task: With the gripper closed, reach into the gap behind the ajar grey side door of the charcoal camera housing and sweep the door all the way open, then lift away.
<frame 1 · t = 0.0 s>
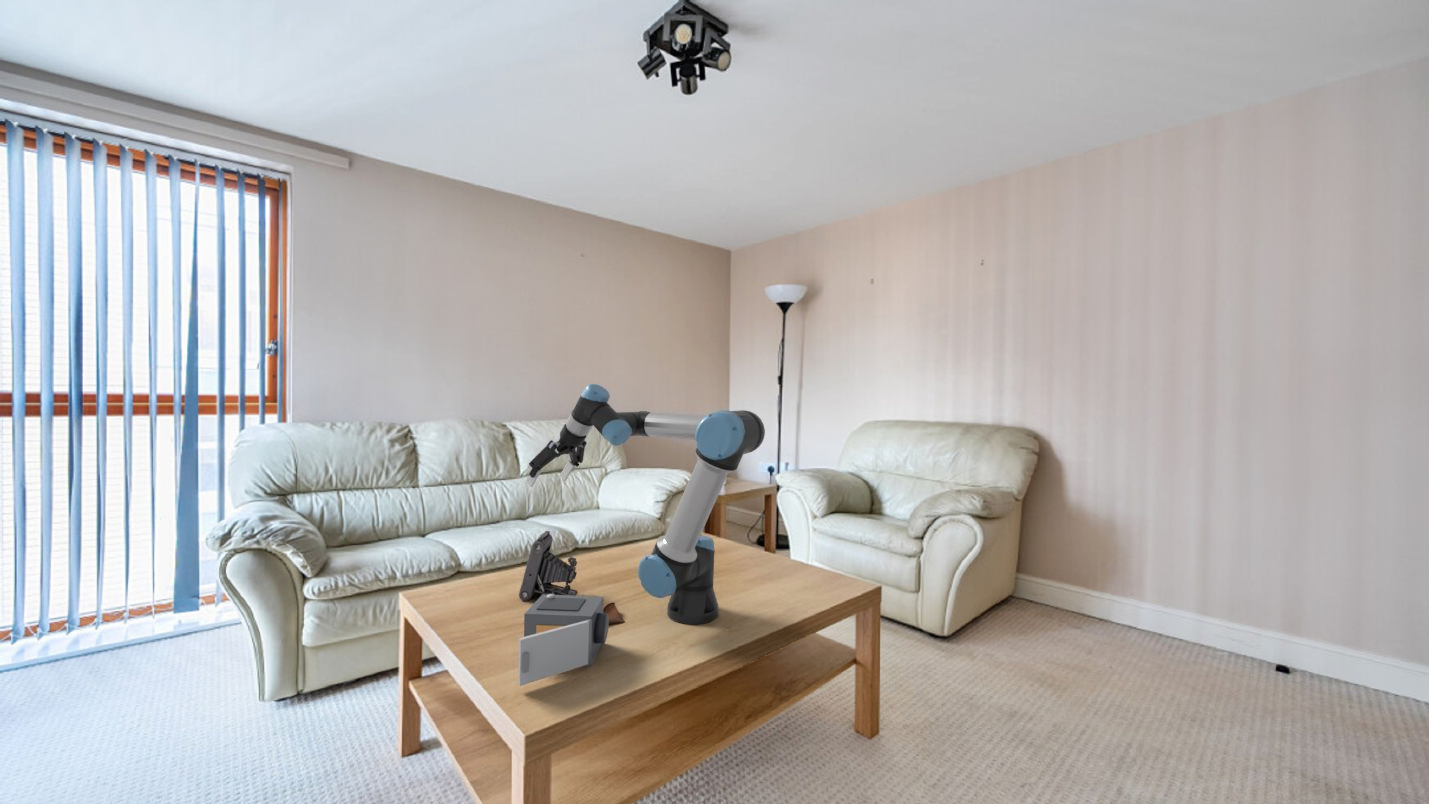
hand: (546, 481, 168), 36 cm above the table, tool tilted 35°, fingers open, 13 cm apart
door: (557, 651, 119), point 7 cm above the table, hinge at 40.0°
camera housing: (564, 652, 131), on the table
camera: (550, 595, 168), on the table
sunglasses case: (591, 625, 148), on the table
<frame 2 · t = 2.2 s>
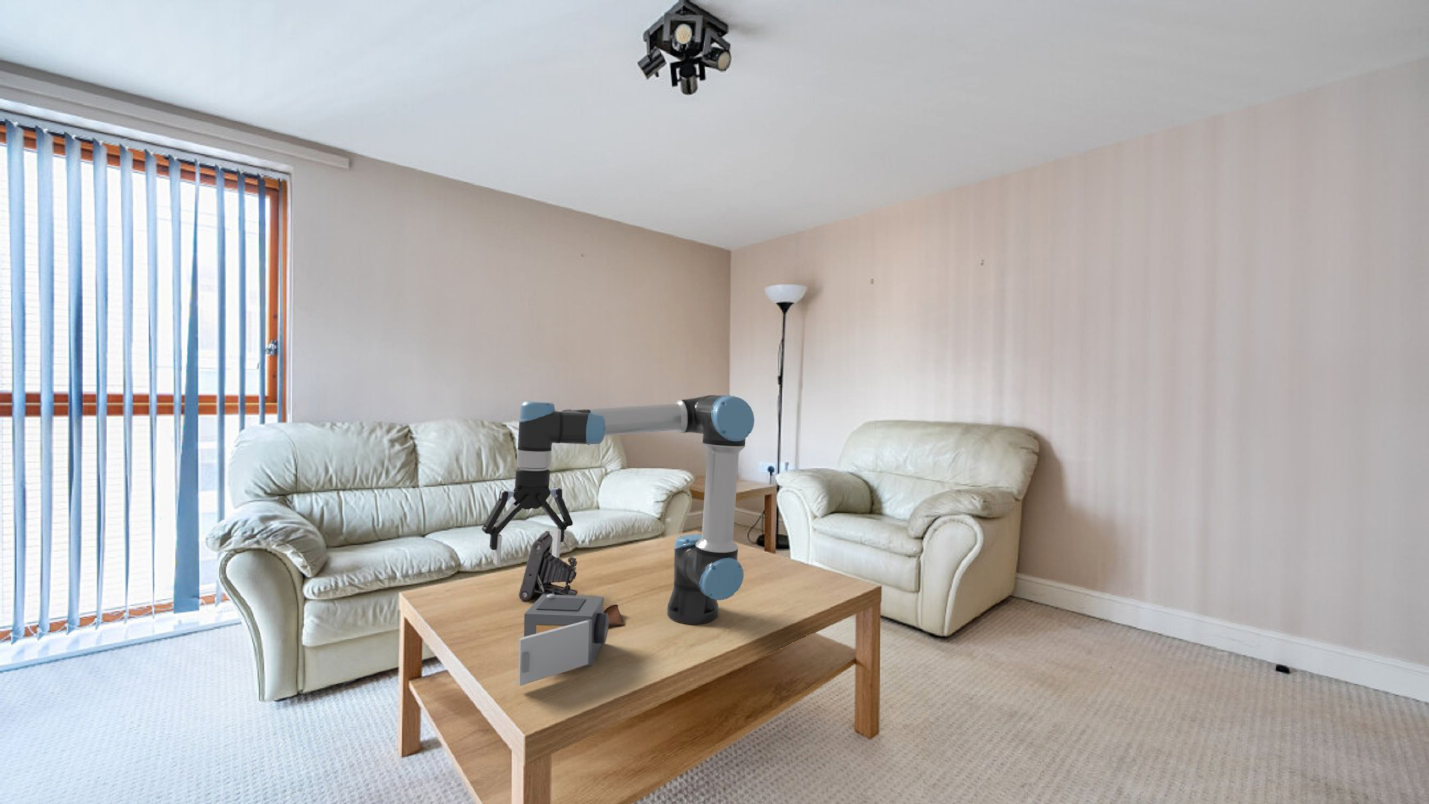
hand: (527, 559, 123), 26 cm above the table, tool pointing down, fingers open, 13 cm apart
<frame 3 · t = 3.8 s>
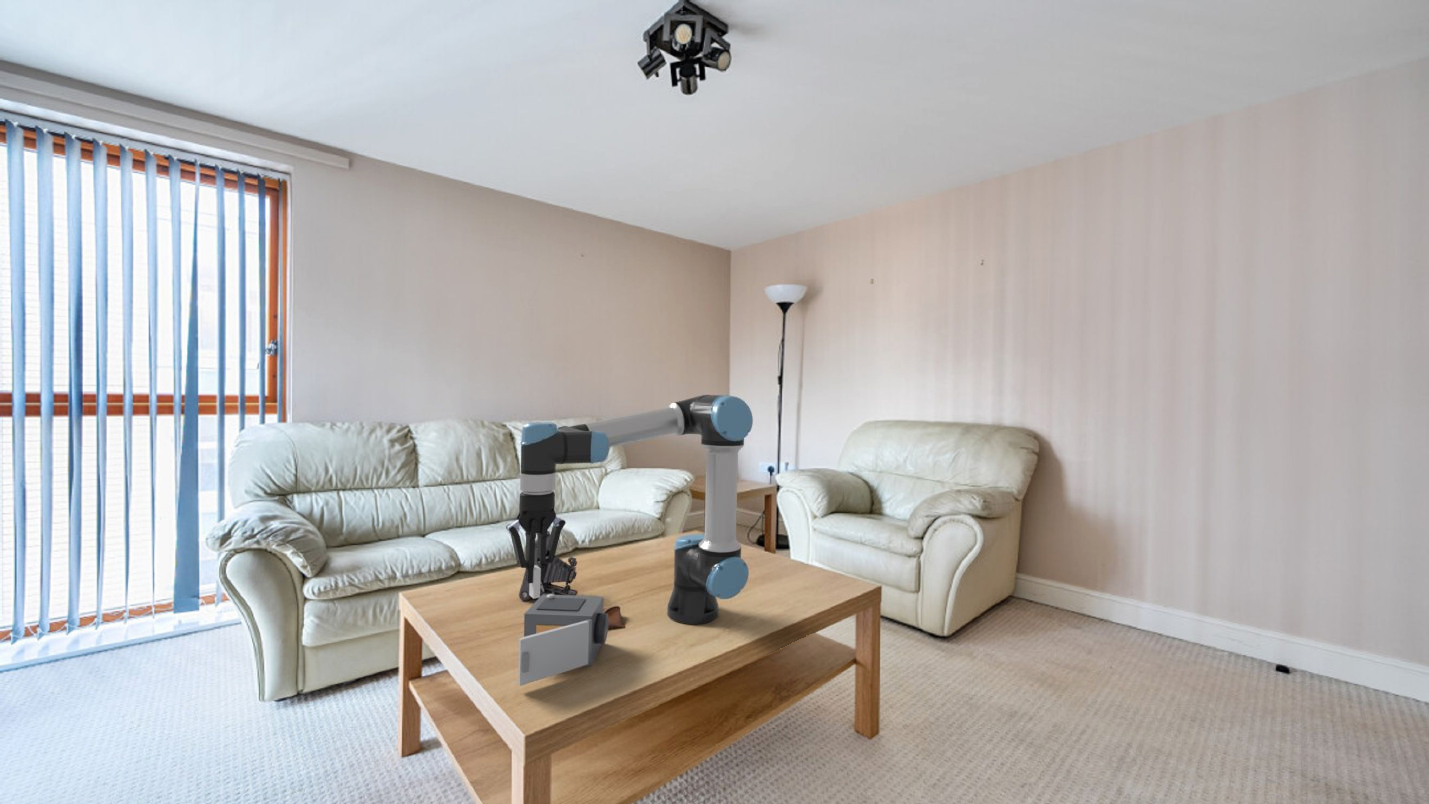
hand: (534, 595, 119), 19 cm above the table, tool pointing down, fingers closed
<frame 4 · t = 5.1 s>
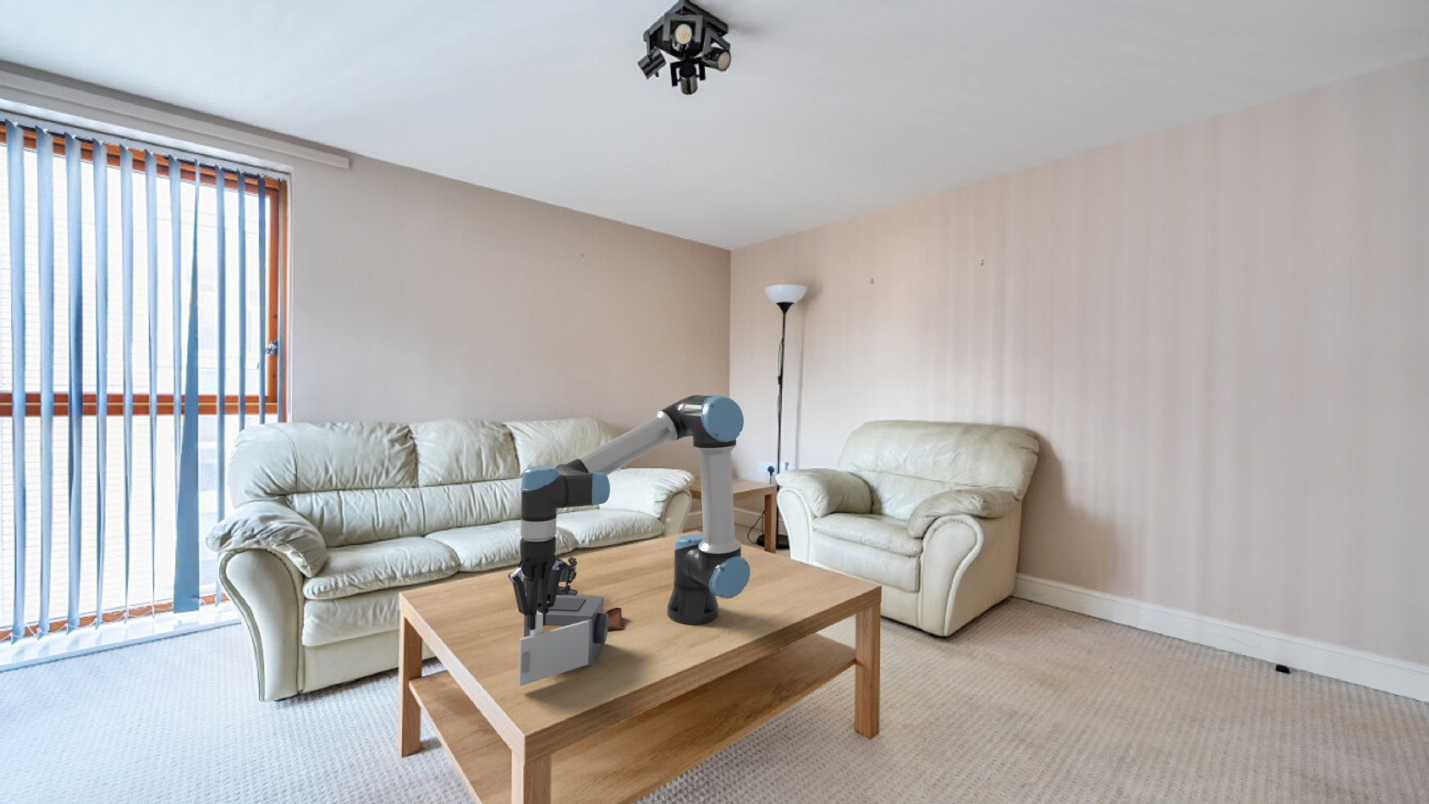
hand: (536, 641, 118), 9 cm above the table, tool pointing down, fingers closed
door: (557, 651, 119), point 7 cm above the table, hinge at 40.6°, touching gripper
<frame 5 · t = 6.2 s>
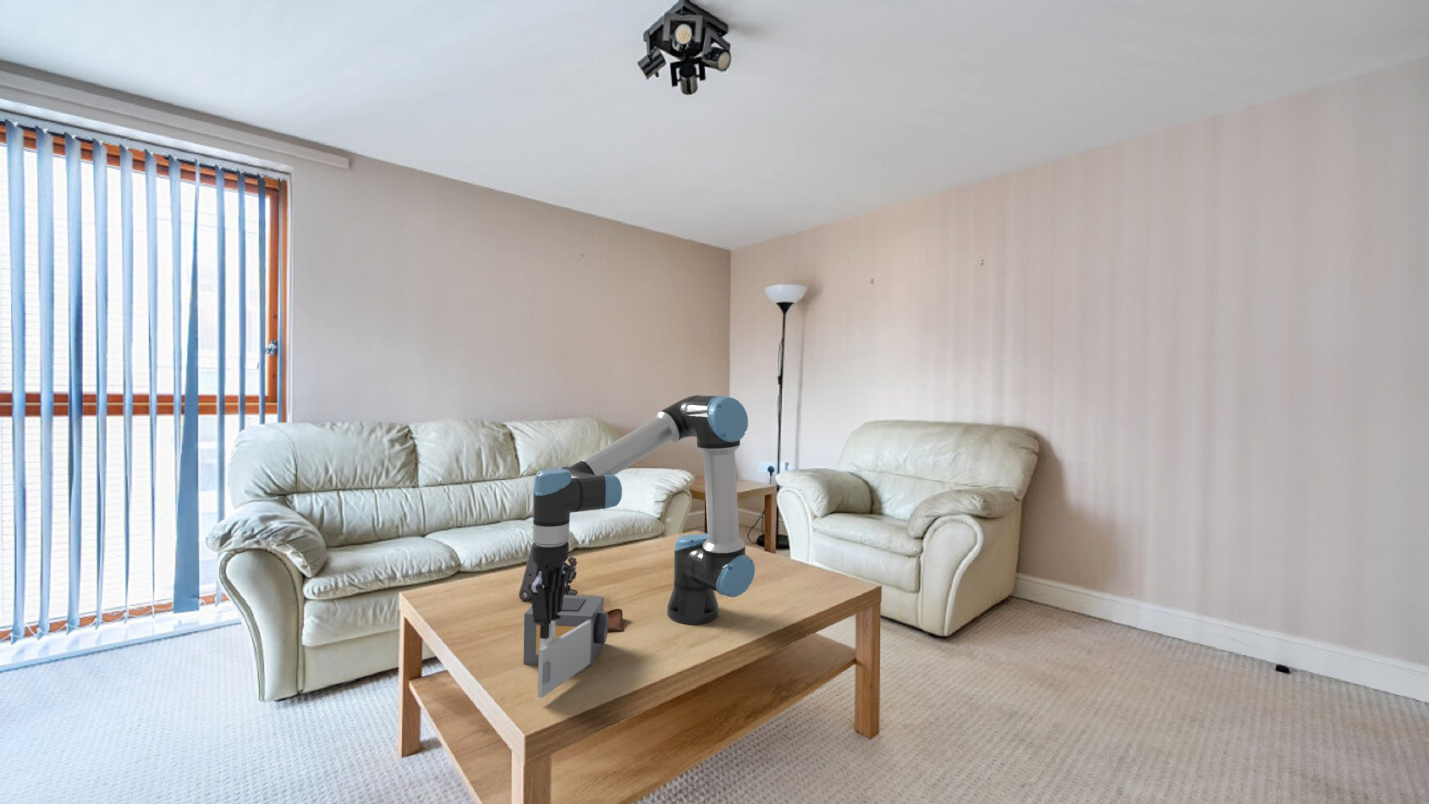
hand: (547, 650, 114), 9 cm above the table, tool pointing down, fingers closed
door: (568, 656, 117), point 7 cm above the table, hinge at 66.6°, touching gripper
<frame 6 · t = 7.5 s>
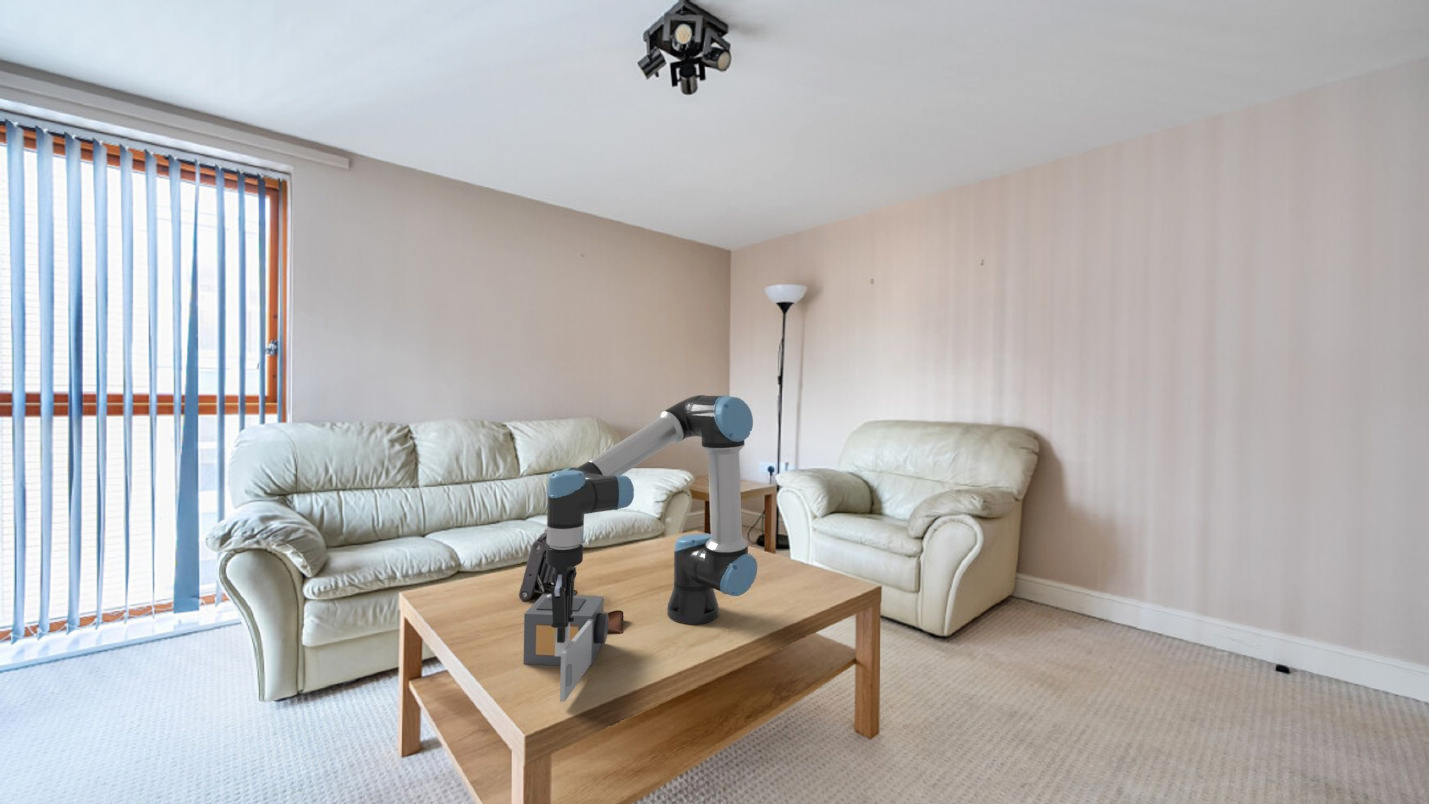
hand: (561, 654, 113), 9 cm above the table, tool pointing down, fingers closed
door: (579, 657, 116), point 7 cm above the table, hinge at 85.2°, touching gripper
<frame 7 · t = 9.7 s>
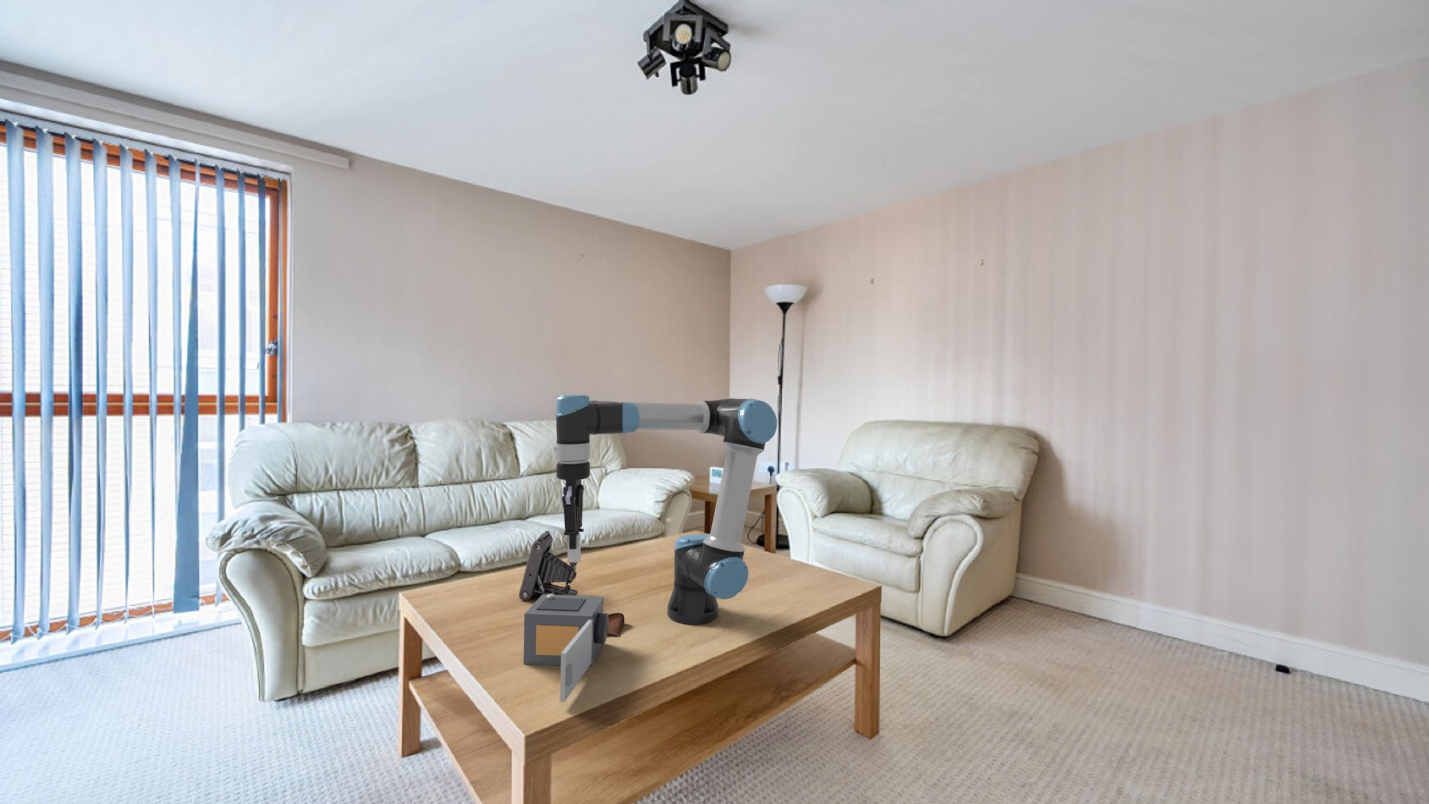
hand: (574, 561, 124), 25 cm above the table, tool pointing down, fingers closed
door: (579, 657, 116), point 6 cm above the table, hinge at 85.2°
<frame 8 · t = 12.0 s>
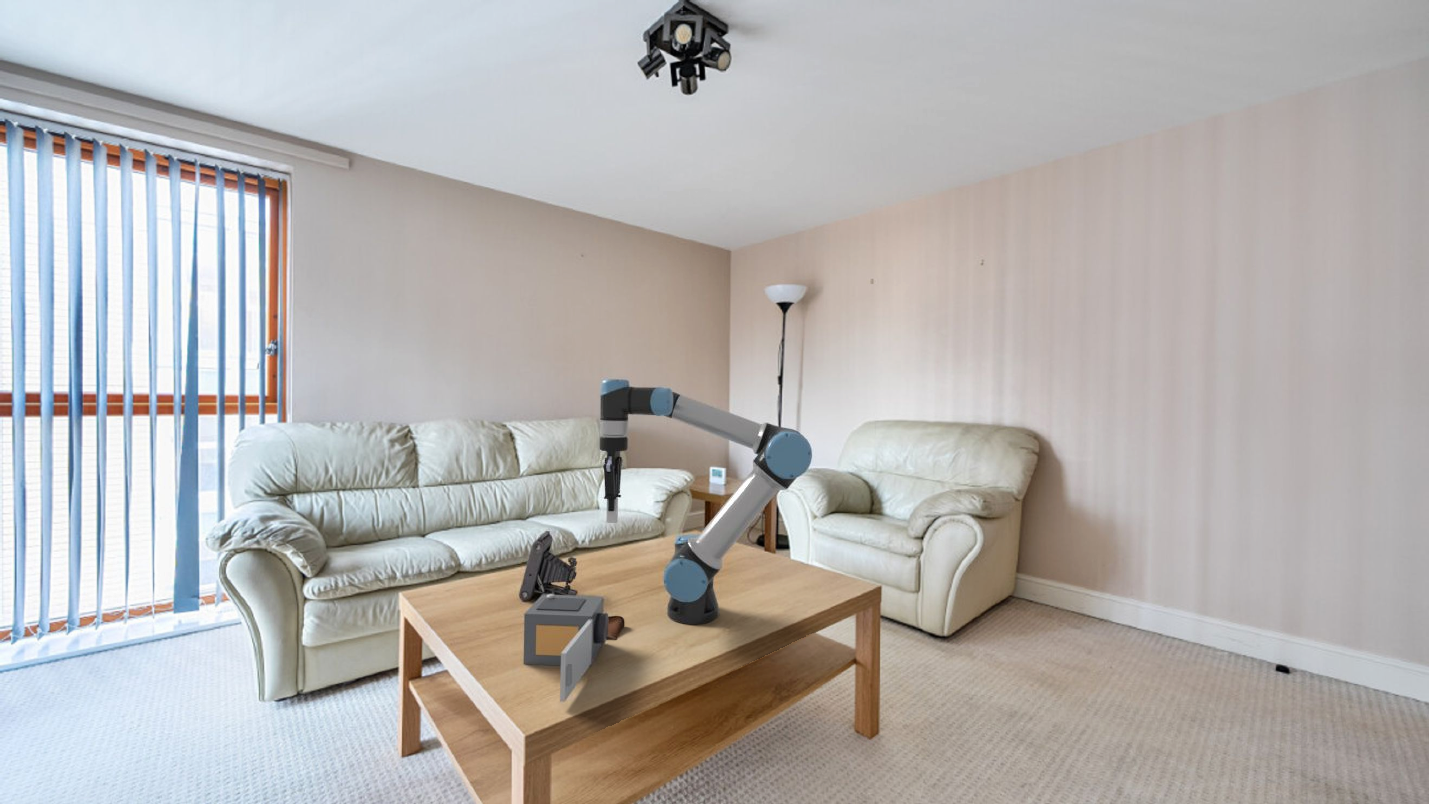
hand: (612, 522, 145), 29 cm above the table, tool pointing down, fingers closed
at the end: door at +85° (first picture: +40°) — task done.
